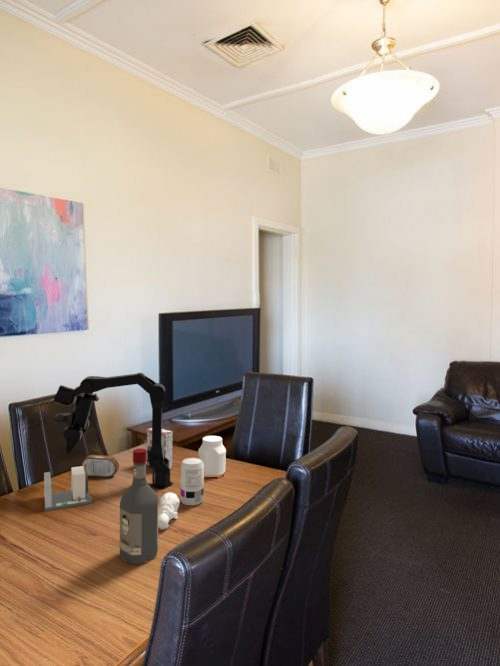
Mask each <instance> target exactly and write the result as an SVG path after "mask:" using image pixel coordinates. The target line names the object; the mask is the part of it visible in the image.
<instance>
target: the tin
mask: <svg viewBox="0 0 500 666" xmlns="http://www.w3.org/2000/svg"><path fill="white" fill-rule="evenodd" d="M81 466H83V468H84V470H86V471H87V474H88V477H94V476H97V477H98V478H111V477H113V476H115V474H117V473H118V471H119V468H120V464H119V461H118V460H117V458H115V457H114V456H111V455H99V454H98V455H97V454H90V455H87V456H86V457H85V458H84V459H83V460H82V462H81Z"/></svg>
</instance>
